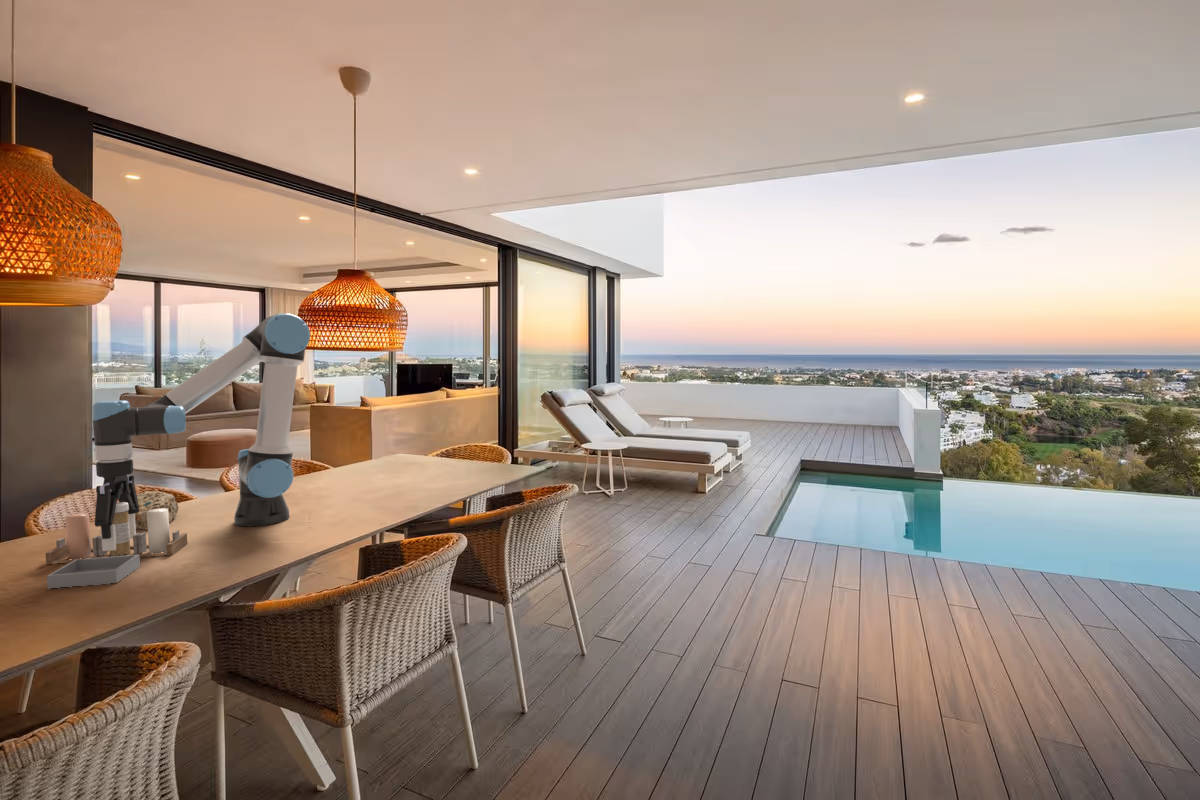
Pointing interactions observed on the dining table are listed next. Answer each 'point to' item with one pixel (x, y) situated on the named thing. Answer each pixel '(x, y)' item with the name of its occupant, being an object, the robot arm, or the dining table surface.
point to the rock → (154, 506)
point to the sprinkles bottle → (121, 529)
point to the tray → (93, 571)
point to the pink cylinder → (78, 535)
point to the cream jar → (158, 530)
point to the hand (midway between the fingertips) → (119, 543)
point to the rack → (138, 546)
